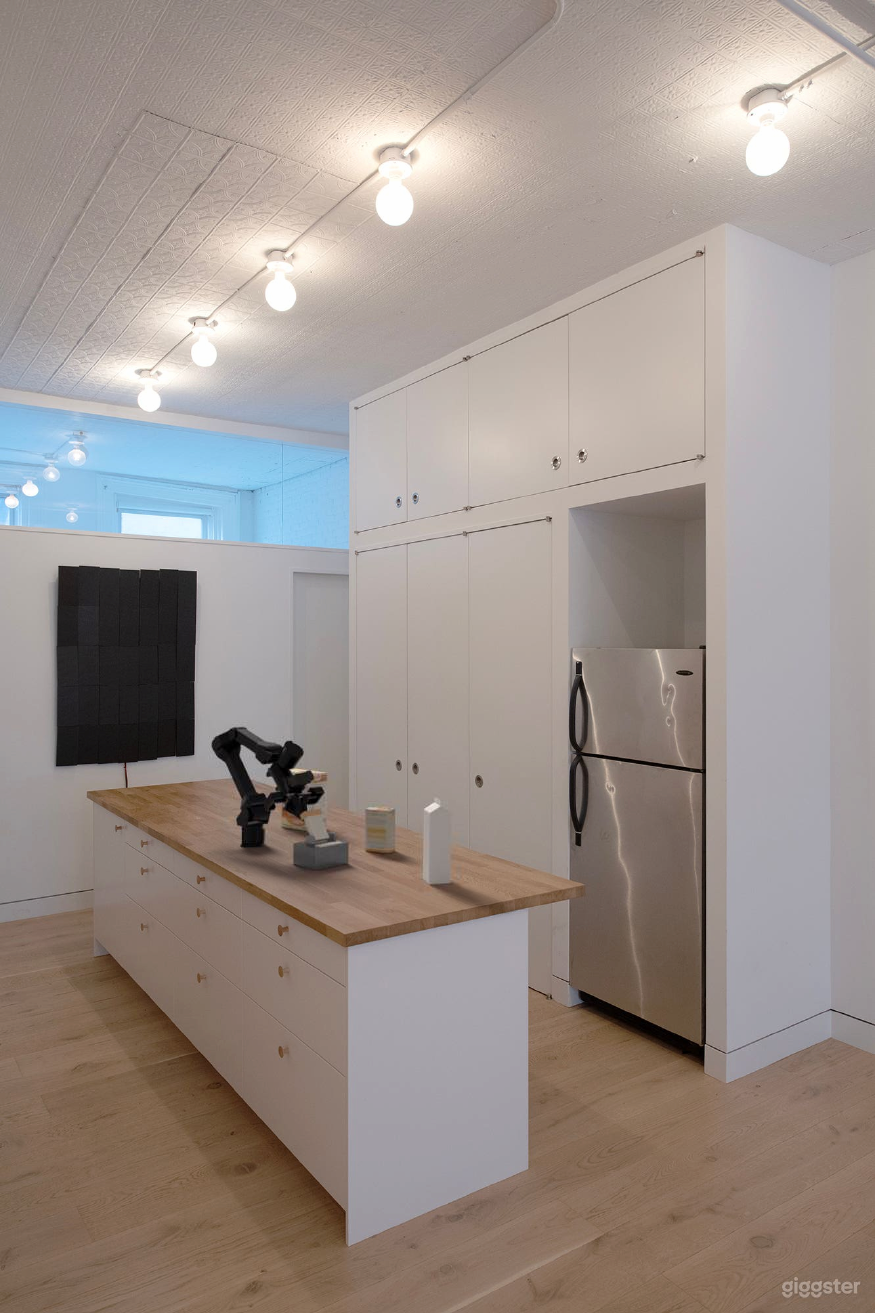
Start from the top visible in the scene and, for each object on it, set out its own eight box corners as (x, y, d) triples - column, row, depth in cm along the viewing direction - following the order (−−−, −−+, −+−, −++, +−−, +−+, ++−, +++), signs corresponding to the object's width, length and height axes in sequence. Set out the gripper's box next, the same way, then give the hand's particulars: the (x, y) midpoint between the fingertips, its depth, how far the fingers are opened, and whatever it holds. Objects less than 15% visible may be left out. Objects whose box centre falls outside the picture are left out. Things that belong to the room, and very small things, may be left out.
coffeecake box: (280, 827, 304) (281, 770, 304) (295, 823, 310) (295, 768, 309) (312, 832, 295) (313, 774, 295) (327, 829, 301) (327, 771, 301)
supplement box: (395, 851, 270) (396, 808, 270) (388, 854, 265) (388, 810, 265) (372, 848, 273) (372, 805, 273) (364, 851, 269) (364, 808, 269)
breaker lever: (310, 843, 251) (299, 815, 254) (327, 840, 255) (316, 812, 259) (315, 839, 249) (304, 811, 253) (331, 836, 254) (320, 808, 257)
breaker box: (293, 864, 251) (293, 834, 251) (326, 857, 260) (326, 829, 260) (315, 870, 245) (315, 840, 244) (348, 863, 253) (348, 834, 253)
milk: (429, 885, 231) (429, 801, 231) (422, 879, 237) (423, 797, 237) (451, 883, 233) (451, 800, 233) (444, 877, 239) (444, 796, 239)
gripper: (269, 764, 254) (292, 808, 246) (321, 759, 267) (344, 800, 260) (253, 789, 259) (275, 832, 252) (304, 782, 273) (327, 823, 265)
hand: (306, 821), depth 257 cm, fingers closed
